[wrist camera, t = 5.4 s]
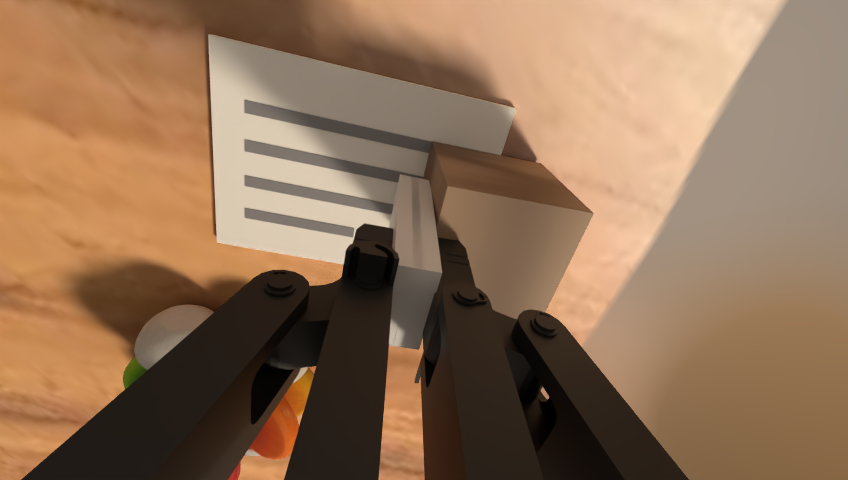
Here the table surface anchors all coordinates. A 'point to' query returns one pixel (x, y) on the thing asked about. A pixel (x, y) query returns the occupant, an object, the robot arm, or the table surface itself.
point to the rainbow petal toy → (172, 330)
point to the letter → (324, 146)
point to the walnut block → (506, 223)
